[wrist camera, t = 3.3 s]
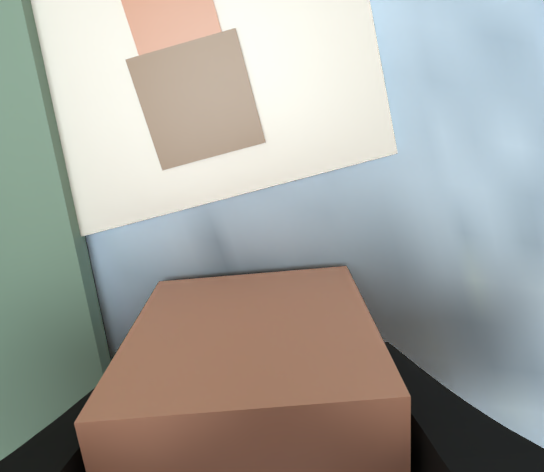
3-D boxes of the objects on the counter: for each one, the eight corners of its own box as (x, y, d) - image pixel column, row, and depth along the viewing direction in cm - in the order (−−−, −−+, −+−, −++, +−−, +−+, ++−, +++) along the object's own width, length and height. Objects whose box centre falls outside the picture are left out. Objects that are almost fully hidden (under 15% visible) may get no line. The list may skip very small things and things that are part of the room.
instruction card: (395, 152, 10) (398, 153, 10) (67, 238, 11) (62, 242, 11) (339, -153, 9) (341, -162, 8) (-45, -34, 9) (-55, -39, 9)
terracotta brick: (352, 424, 12) (409, 636, 7) (184, 437, 12) (131, 656, 7) (346, 266, 11) (411, 396, 6) (158, 281, 11) (73, 423, 6)
